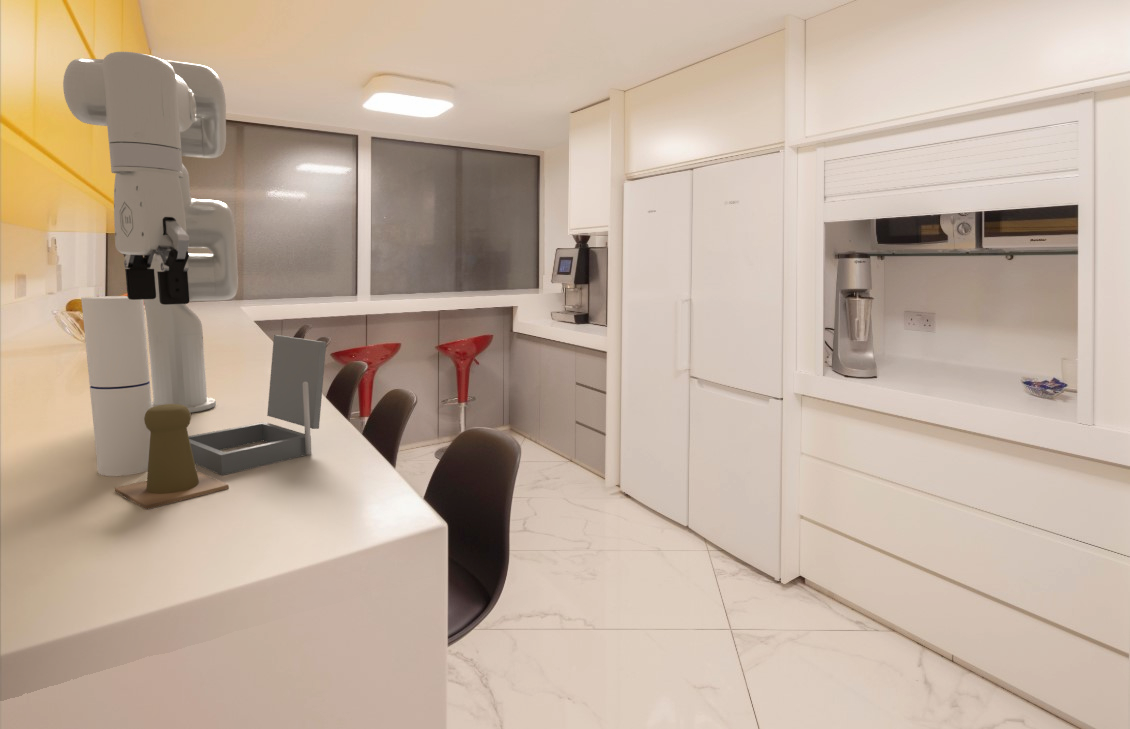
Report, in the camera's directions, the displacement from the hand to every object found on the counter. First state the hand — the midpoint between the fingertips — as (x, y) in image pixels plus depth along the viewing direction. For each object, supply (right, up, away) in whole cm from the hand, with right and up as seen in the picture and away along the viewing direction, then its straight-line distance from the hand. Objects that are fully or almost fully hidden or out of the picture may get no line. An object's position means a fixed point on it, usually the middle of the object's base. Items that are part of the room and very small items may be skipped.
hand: (158, 301), depth 83 cm
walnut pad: (0, -25, +3) cm, 25 cm away
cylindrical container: (-12, -24, +12) cm, 29 cm away
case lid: (+7, -11, +24) cm, 27 cm away
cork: (0, -25, +4) cm, 25 cm away
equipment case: (+2, -22, +19) cm, 30 cm away
